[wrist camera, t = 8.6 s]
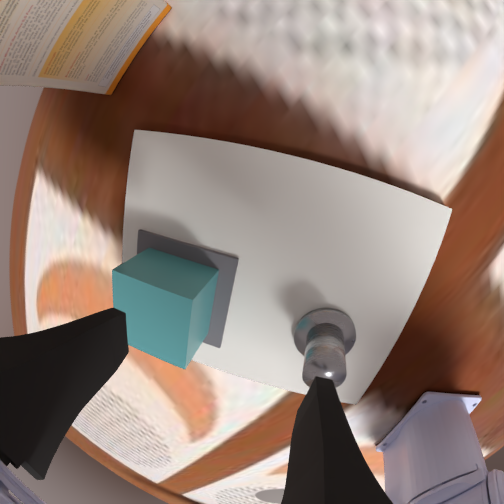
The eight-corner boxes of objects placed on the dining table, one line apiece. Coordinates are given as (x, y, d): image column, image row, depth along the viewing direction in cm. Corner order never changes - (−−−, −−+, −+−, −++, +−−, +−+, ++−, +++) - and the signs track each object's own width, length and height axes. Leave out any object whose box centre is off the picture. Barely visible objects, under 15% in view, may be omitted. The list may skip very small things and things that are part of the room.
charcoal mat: (221, 345, 19) (219, 348, 19) (137, 314, 20) (135, 316, 20) (239, 258, 17) (237, 259, 17) (140, 229, 18) (138, 230, 17)
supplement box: (136, -5, 13) (17, -62, 1) (175, 8, 13) (43, -74, 1) (80, 77, 16) (-56, 67, 4) (110, 99, 16) (-51, 90, 4)
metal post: (341, 362, 18) (343, 404, 14) (287, 349, 18) (278, 390, 14) (364, 316, 16) (373, 356, 12) (304, 300, 17) (300, 338, 13)
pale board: (355, 395, 20) (355, 404, 19) (130, 325, 22) (124, 331, 21) (445, 206, 14) (452, 209, 13) (142, 130, 17) (134, 129, 16)
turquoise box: (208, 333, 19) (185, 369, 15) (146, 309, 19) (116, 338, 16) (219, 269, 17) (192, 300, 13) (149, 247, 18) (112, 269, 14)
